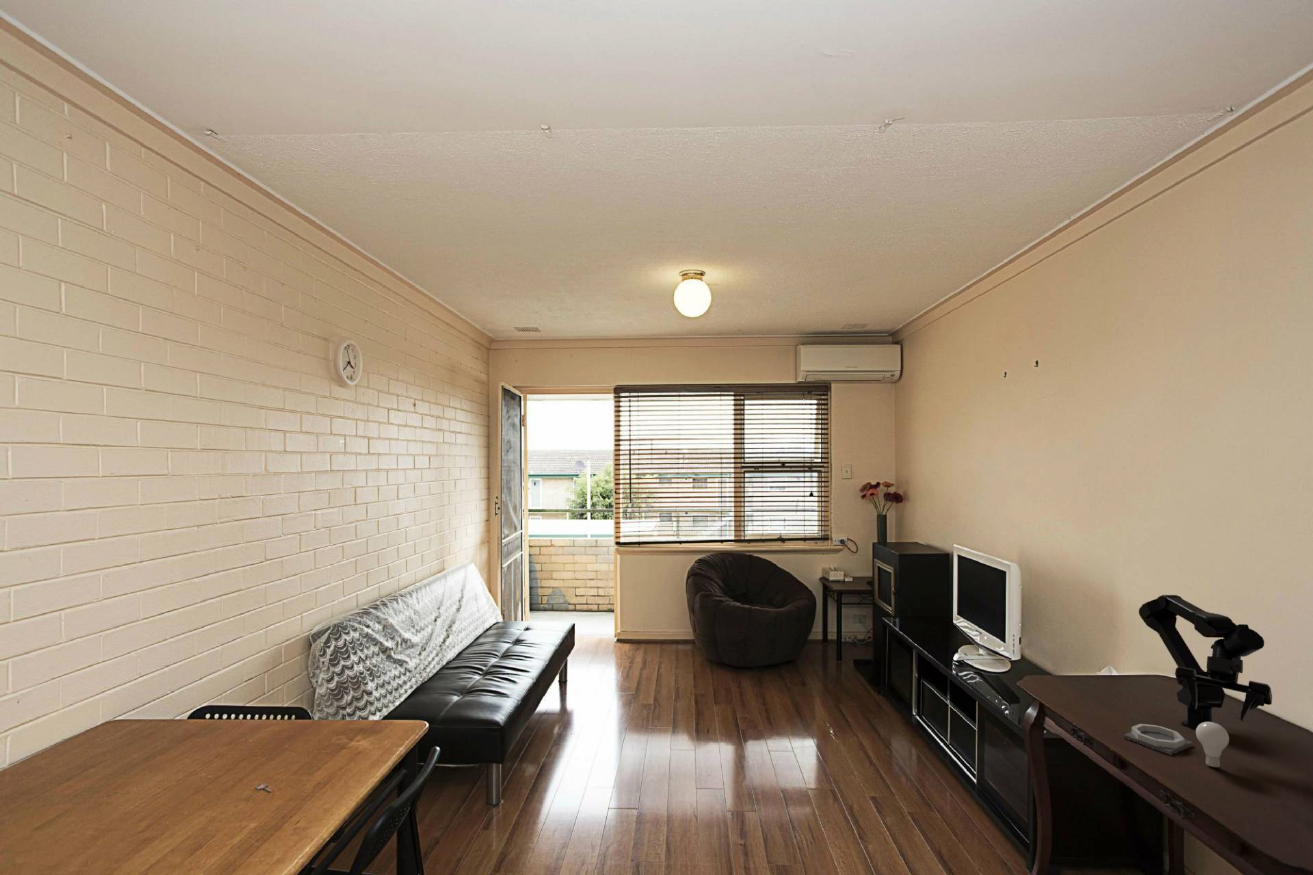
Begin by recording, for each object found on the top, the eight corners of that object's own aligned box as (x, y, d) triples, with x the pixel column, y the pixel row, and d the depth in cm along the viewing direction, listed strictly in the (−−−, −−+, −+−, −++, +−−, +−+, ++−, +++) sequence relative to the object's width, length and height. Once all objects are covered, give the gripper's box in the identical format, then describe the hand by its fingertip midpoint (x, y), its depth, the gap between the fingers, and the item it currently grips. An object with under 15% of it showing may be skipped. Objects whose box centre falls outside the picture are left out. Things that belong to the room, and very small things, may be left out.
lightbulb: (1235, 774, 160) (1235, 729, 160) (1205, 772, 161) (1205, 727, 161) (1219, 761, 166) (1218, 718, 166) (1190, 759, 167) (1190, 716, 167)
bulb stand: (1146, 729, 184) (1145, 721, 184) (1192, 746, 175) (1192, 736, 175) (1123, 738, 179) (1123, 729, 179) (1170, 755, 170) (1170, 745, 170)
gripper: (1176, 636, 178) (1166, 687, 170) (1270, 652, 164) (1263, 709, 156) (1183, 658, 183) (1174, 709, 176) (1274, 676, 169) (1268, 732, 162)
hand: (1217, 714), depth 167 cm, fingers open, 9 cm apart
